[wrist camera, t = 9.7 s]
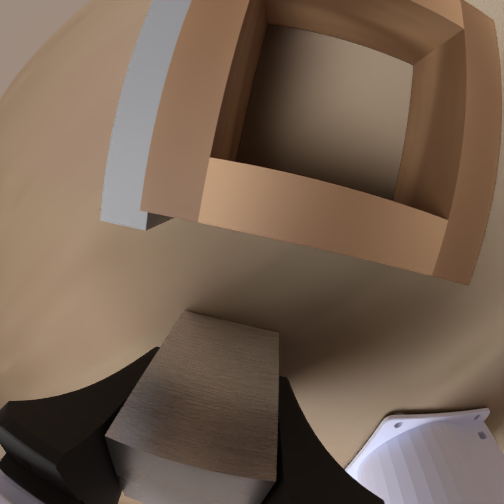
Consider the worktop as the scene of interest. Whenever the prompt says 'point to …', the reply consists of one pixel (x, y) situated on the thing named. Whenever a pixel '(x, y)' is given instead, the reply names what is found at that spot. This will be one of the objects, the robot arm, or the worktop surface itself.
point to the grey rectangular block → (202, 417)
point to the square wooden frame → (319, 192)
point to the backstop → (140, 116)
